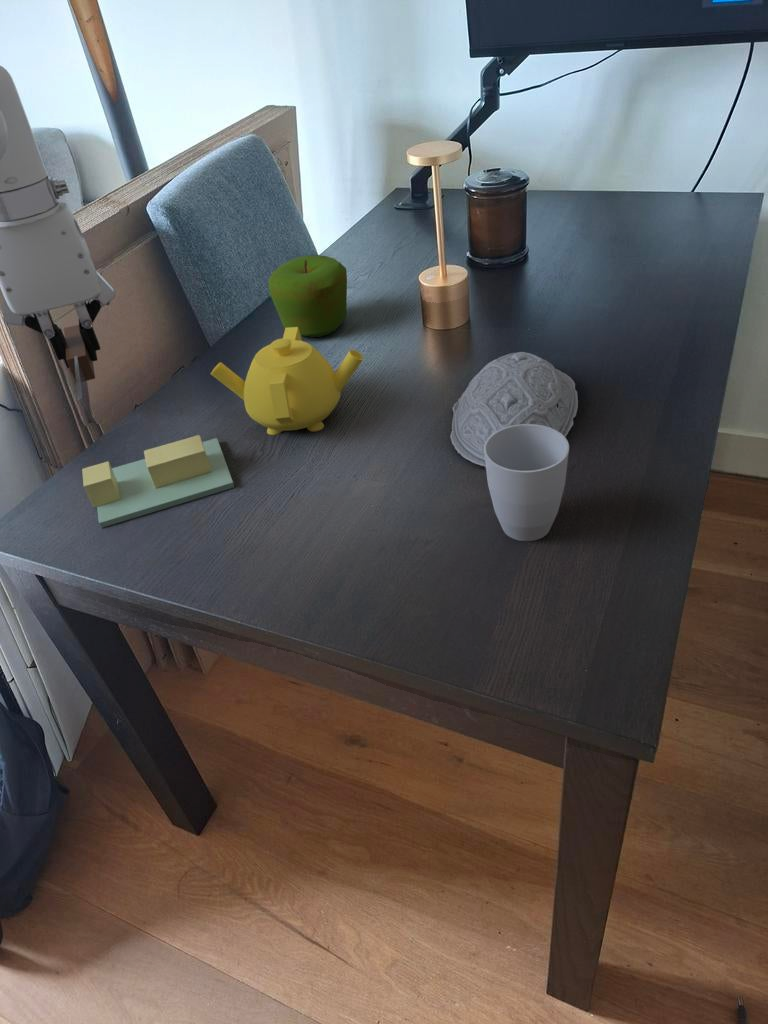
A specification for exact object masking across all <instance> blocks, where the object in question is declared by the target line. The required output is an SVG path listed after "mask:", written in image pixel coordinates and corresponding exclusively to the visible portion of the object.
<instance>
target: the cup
mask: <svg viewBox="0 0 768 1024" xmlns="http://www.w3.org/2000/svg"><path fill="white" fill-rule="evenodd" d="M569 451H570V444H569V441H568V439H567V437H564V436H563V435H562V434H561V433H560V432H558V431H556V430H554V429H552V428H549V427H546V426H542V425H536V424H520V425H513V426H509V427H506V428H503V429H501V430H498V431H497V432H495V433H493V434H492V435H491V436H490V437H489V438H488V439H487V440H486V442H485V444H484V456H485V464H486V467H485V471H486V472H485V473H486V479H487V486H488V487H487V488H488V490H489V494H490V498H491V502H492V506H493V510H494V514H495V516H496V518H497V520H498V523H499V525H500V526H501V529H502V530H503V532H504V534H505V535H506V536H507V537H509V538H510V539H512V540H515V541H521V542H533V541H537V540H540V539H542V538H544V537H545V536H547V535H548V534H549V532H550V530H551V529H552V526H553V524H554V522H555V520H556V517H557V516H558V514H559V510H560V506H561V501H562V499H563V494H564V490H565V486H566V480H567V470H568V461H569Z"/></svg>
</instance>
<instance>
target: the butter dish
mask: <svg viewBox="0 0 768 1024" xmlns="http://www.w3.org/2000/svg"><path fill="white" fill-rule="evenodd" d="M202 443H203V446H204V449H205V452H206V455H207V458H208V461H209V464H210V467H211V472H209V473H205V474H202V475H199V476H195V477H192V478H189V479H185V480H182V481H179V482H175V483H172V484H169V485H165V486H162V487H159V488H155V487H154V484H153V481H152V479H151V476H150V474H149V471H148V469H147V464H146V460H145V458H143V459H139V460H135V461H132V462H129V463H126V464H122V465H119V466H115V467H111V468H112V470H113V472H114V475H115V477H116V480H117V482H118V488H119V495H120V500H117V501H113V502H110V503H107V504H103V505H100V506H97V507H96V511H97V518H98V519H97V520H98V524H99V527H100V528H101V529H103V528H106V527H109V526H113V525H116V524H119V523H123V522H127V521H129V520H132V519H135V518H139V517H142V516H145V515H149V514H152V513H156V512H158V511H161V510H165V509H169V508H171V507H175V506H178V505H182V504H184V503H188V502H191V501H195V500H198V499H200V498H205V497H208V496H210V495H214V494H217V493H220V492H224V491H227V490H230V489H233V488H235V483H234V480H233V478H232V475H231V472H230V469H229V466H228V464H227V461H226V459H225V456H224V453H223V450H222V447H221V445H220V442H219V439H218V437H214V438H212V439H207V440H205V441H202Z"/></svg>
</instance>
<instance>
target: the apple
mask: <svg viewBox="0 0 768 1024" xmlns="http://www.w3.org/2000/svg"><path fill="white" fill-rule="evenodd" d="M268 289H269V295H270V298H271V301H272V302H273V305H274V308H275V309H276V312H277V314H278V316H279V320H280V322H281V324H282V326H283V328H284V329H285V328H290V327H298V329H299V332H300V335H301V337H309V338H321V337H324V336H328V335H330V334H331V333H333V332H336V330H337V329H338V328H339V327H340V326H341V325H342V323H343V322H345V320H346V319H347V314H348V313H347V310H348V309H347V308H348V307H347V306H348V305H347V301H348V298H347V296H348V273H347V268H346V267H345V266H344V265H343V264H342V263H341V262H340V261H338V260H337V259H336V258H334V257H331V256H327V255H320V254H319V255H318V254H310V255H302V256H298V257H295V258H293V259H290V260H288V261H286V262H285V263H283V264H281V265H279V266H278V267H277V268H276V269H275V270H274V271H273V272H272V273H271V275H270V276H269V277H268Z"/></svg>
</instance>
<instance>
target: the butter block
mask: <svg viewBox="0 0 768 1024" xmlns="http://www.w3.org/2000/svg"><path fill="white" fill-rule="evenodd" d="M202 442H203V440H202V437H201V435H200V434H197V435H194V436H191V437H187V438H184V439H180V440H176V441H173V442H169V443H166V444H163V445H159V446H156V447H152V448H148V449H145V450H143V454H144V459H145V460H146V464H147V469H148V471H149V474H150V476H151V479H152V481H153V484H154V487H155V488H159V487H162V486H165V485H169V484H172V483H175V482H179V481H182V480H185V479H189V478H192V477H195V476H199V475H202V474H205V473H209V472H211V467H210V464H209V461H208V458H207V455H206V452H205V449H204V446H203V443H202Z"/></svg>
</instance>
